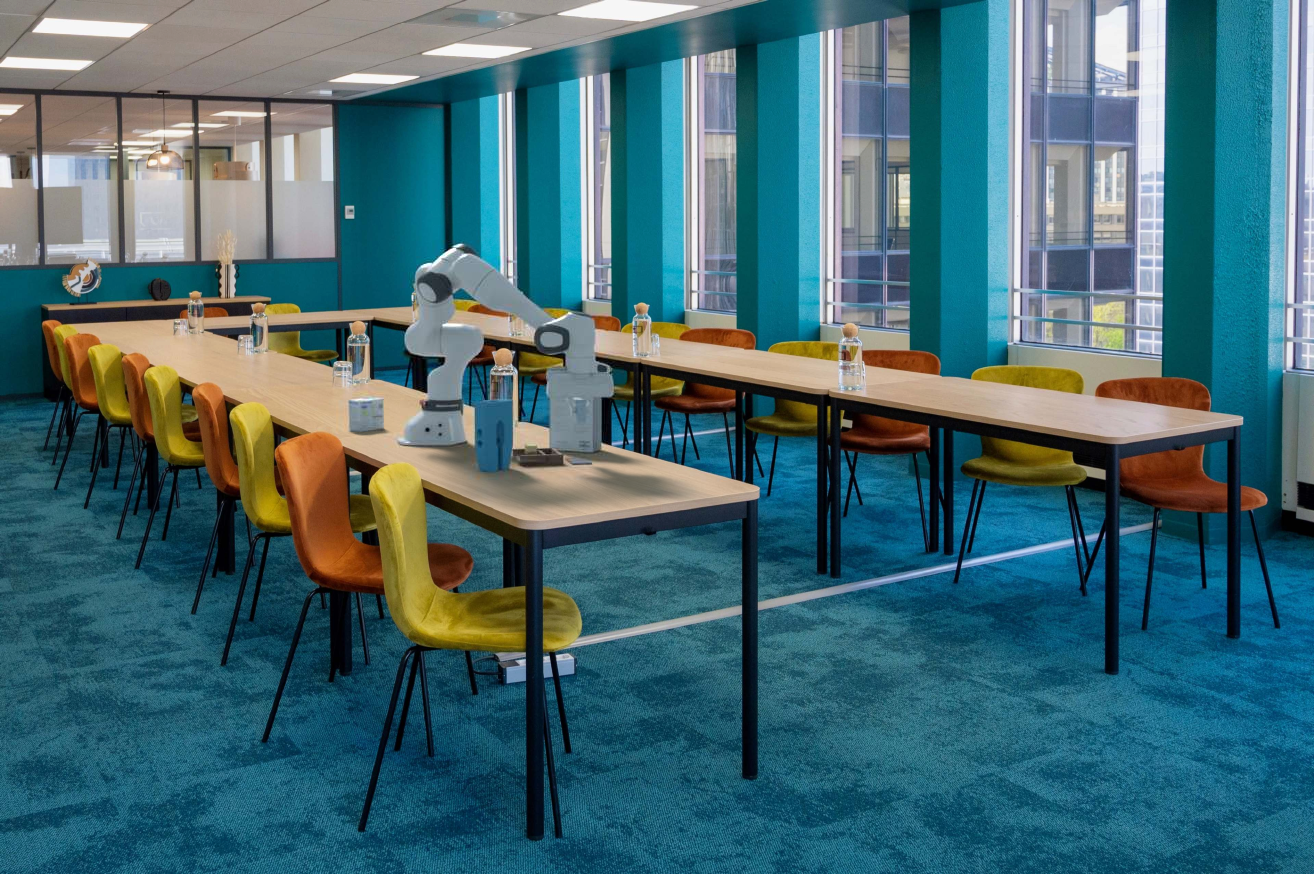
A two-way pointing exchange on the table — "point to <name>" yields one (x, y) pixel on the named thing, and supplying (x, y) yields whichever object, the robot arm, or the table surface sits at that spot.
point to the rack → (538, 457)
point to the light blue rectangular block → (579, 410)
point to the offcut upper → (531, 447)
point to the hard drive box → (574, 427)
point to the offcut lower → (530, 453)
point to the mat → (578, 461)
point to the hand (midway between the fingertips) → (579, 412)
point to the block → (493, 434)
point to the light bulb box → (366, 414)
